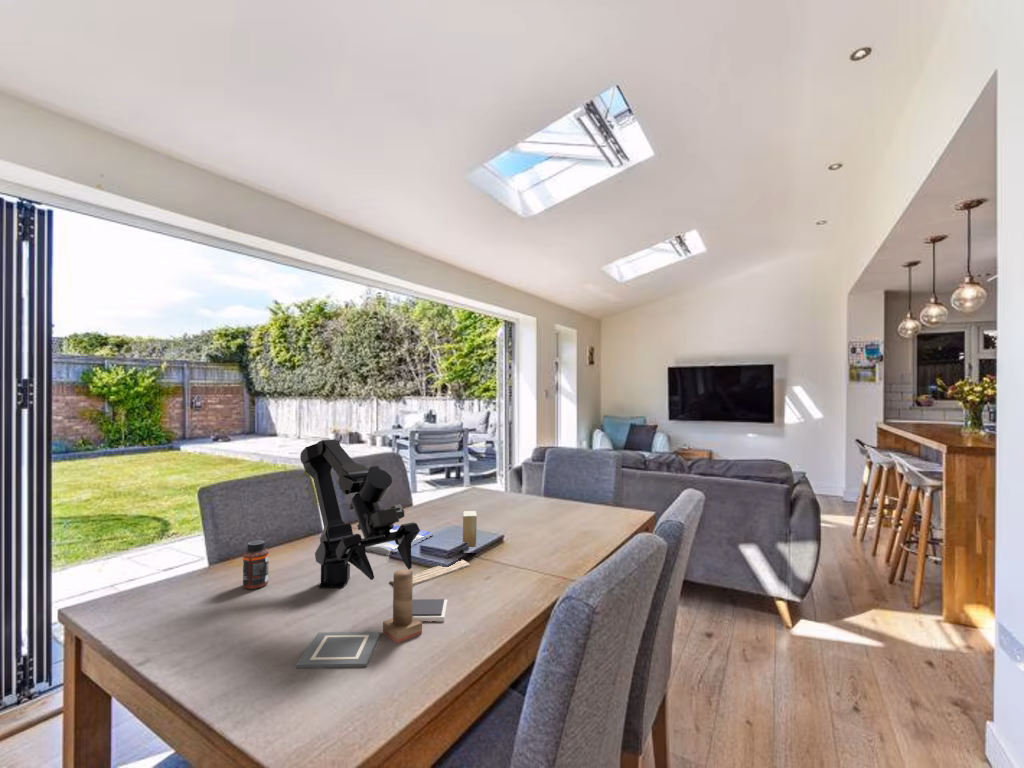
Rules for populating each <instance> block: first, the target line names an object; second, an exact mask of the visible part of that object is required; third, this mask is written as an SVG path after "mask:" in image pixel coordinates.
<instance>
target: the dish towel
mask: <svg viewBox="0 0 1024 768" xmlns="http://www.w3.org/2000/svg"><path fill="white" fill-rule="evenodd" d="M393 525H394V527H393V529H391V530H390V533H391V532H396V531H397V530H398V529H399V527H400V526H401V525H397V524H393ZM431 533H432V532H431V531H428V530H424V529H420V532H419V533H418V534H417V536H416V537H415V539H414V540H416V539H419V538H421V537H424V536H427V535H429V534H431ZM414 540H413V541H414ZM398 546H399V545H397V544H396V542H395V540H394V541H390V542H386V543H381V544H377V545H372V546H368V547H365V550H366V552H367V551H368V552H371V551H373V553H376V552H377V554H380V553H381V555H384V554H386V556H389V555H388V554H389V553H390V551H391V550H393V549H395V548H397V547H398Z"/></svg>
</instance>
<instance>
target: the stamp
mask: <svg viewBox="0 0 1024 768" xmlns="http://www.w3.org/2000/svg"><path fill="white" fill-rule="evenodd" d="M413 574H414V573H413V571H412V569H399V570H396V571H394V572H393V580H392V581H393V583H392V584H393V585H392V587H393V589H392V590H393V593H392V595H393V596H392V597H393V598H392V618H388V619H386V620H383V621H382V633H383V634H385V635H386V636H387V637H388V638H390V639H391V640H392V641H394V643H396V644H398V642H399V643H401V642H404V641H406V640H409V639H411V638H414V637H416V635H417V636H419V635H421V633H422V634H423V622H420V621H419V620H417V619H416V618H414V617H413V616H412V600H413V586H412V584H413ZM418 634H419V635H418ZM413 636H414V637H413Z"/></svg>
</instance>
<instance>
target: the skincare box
mask: <svg viewBox="0 0 1024 768" xmlns="http://www.w3.org/2000/svg"><path fill="white" fill-rule="evenodd" d="M477 516H478V514H477V510H464V511H463V512H462V543H463V542H465V543H467V546H468V547H476V548H477V521H478V520H477V519H478V518H477Z"/></svg>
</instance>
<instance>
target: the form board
mask: <svg viewBox="0 0 1024 768" xmlns="http://www.w3.org/2000/svg"><path fill="white" fill-rule="evenodd" d="M380 636H381V631H337V632H336V631H335V632H333V631H331V632H328V631H327V632H325V631H323V632H317V633H316V635H315V636H314V638H313V639H312V641H311V642H310V644H309V645H308V647H307V648H306V649H305V650H304V653H303V654H302V655H301V657H300V658H299V660H298V661H297V663H296V664H295V668H296V669H300V668H301V669H308V668H309V669H310V668H313V669H317V668H361V667H362V668H364V667H365V668H367V666H368V664H369V662H370V660H371V658H372V656H373V653H374V650H375V648H376V646H377V643H378V641H379V639H380Z"/></svg>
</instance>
